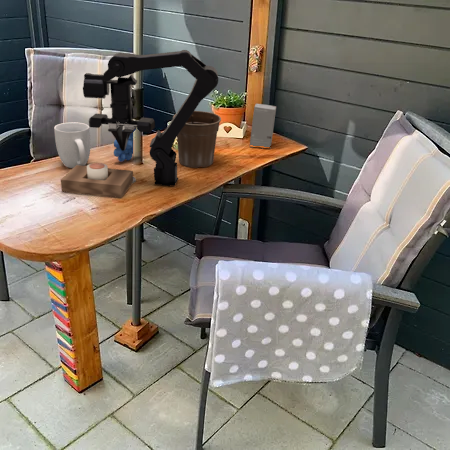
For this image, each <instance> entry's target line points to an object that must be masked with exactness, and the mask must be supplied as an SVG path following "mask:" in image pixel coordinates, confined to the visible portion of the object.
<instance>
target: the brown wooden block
mask: <svg viewBox="0 0 450 450" xmlns="http://www.w3.org/2000/svg"><path fill="white" fill-rule="evenodd" d="M133 173H134V172H133V170H131V169H130V170H129V169H120V168H119V169H118V168H110V167H109V168H108V178H107V179H106V180H95V179H88V177H87V165H85V166H80V165H76V166H75V167H74V168H71V170H70V171H68V172H67V173H66V174H65V175H64V176H63V177H62V178H61V179H60V187H61V192H62V193H67V194H76V195H87V196H96V197H106V198H115V199H116V198H117V199H122V198H123V197H124V195H126V193H127V192H128V190H129V188H131V186H132V185H133V184H132V182H133V177H134V176H133V175H134V174H133Z"/></svg>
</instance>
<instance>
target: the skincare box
mask: <svg viewBox="0 0 450 450" xmlns="http://www.w3.org/2000/svg"><path fill="white" fill-rule="evenodd" d="M276 112H277V105H276V106H275V105H270V104H263V103H255V105H254V107H253V115H252V122H251V123H252V124H251V130H250V131H251V132H250V140H249V146H250V145H253V146H264V147H270V146H272V141H273V133H274V127H275V119H276V118H275V117H276ZM270 148H271V147H270Z"/></svg>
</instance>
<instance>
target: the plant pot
mask: <svg viewBox="0 0 450 450" xmlns="http://www.w3.org/2000/svg"><path fill="white" fill-rule="evenodd" d="M175 115H176V113H175V114H174V115H173V116H172V119H173V118H174V116H175ZM221 121H222V117H221V116H220V115H219V114H216V113H213V112H209V111H203V110H202V111H201V110H194V112H193V113H192V115H191V116H190V118H189V119H188V121H187V122H186V124H185V125H184V127H183V128H182V130H181V131H180V133H179V134H178V136H177V137H176V142H177V151H178V152H177V153H178V155H177V156H178V162H179V163H180V165H182V166H184V167H187V168H193V169H195V168H196V169H197V168H201V167H202V168H207V167H209V166H212V165H213V164H214V158H215V151H216V143H217V135H218V132H219V130H220V128H219V127H220V123H221Z"/></svg>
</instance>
